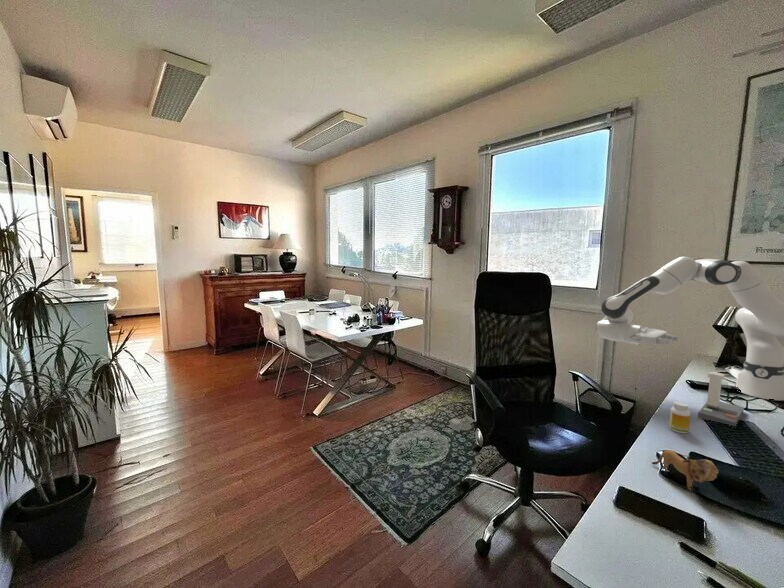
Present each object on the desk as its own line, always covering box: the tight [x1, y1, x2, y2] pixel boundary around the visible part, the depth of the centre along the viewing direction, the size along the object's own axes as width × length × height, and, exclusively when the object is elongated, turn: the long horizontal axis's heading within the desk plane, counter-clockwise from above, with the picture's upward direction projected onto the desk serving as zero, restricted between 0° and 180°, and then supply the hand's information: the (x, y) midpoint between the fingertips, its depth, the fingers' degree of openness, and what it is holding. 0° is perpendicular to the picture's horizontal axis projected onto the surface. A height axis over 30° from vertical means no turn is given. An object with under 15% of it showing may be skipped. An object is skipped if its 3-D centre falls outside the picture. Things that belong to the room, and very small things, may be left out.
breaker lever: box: [706, 371, 725, 409], centre depth 129 cm, size 4×4×13 cm
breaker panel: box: [697, 401, 745, 427], centre depth 128 cm, size 20×10×2 cm, turn 127°
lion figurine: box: [651, 449, 719, 492], centre depth 89 cm, size 15×5×9 cm, turn 20°
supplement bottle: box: [668, 400, 691, 434], centre depth 116 cm, size 5×5×10 cm
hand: (675, 340), depth 139 cm, fingers open, 8 cm apart
